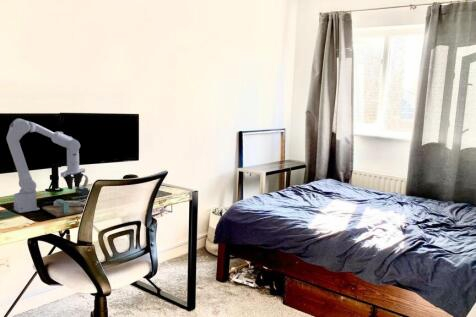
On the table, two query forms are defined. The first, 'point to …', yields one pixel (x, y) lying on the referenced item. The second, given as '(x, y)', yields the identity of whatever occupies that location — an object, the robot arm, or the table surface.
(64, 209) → the block
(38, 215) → the table surface
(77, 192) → the watch
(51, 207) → the board
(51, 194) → the table surface
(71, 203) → the latch bar
